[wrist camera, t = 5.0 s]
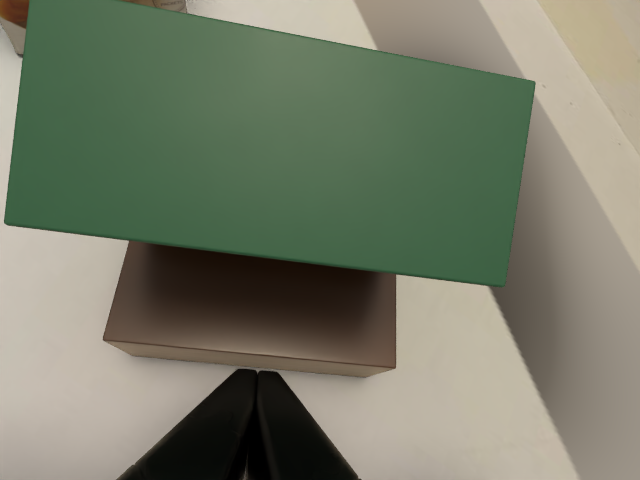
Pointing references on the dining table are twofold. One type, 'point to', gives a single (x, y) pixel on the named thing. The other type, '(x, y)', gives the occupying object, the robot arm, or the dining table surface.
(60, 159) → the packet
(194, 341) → the block
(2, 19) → the coffee box
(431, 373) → the dining table surface
